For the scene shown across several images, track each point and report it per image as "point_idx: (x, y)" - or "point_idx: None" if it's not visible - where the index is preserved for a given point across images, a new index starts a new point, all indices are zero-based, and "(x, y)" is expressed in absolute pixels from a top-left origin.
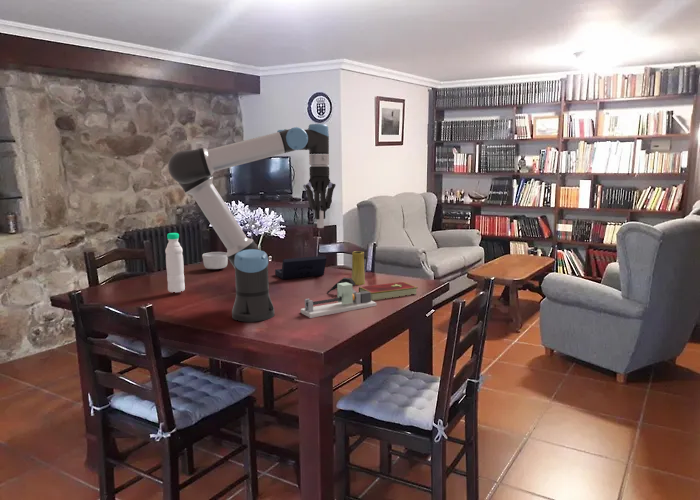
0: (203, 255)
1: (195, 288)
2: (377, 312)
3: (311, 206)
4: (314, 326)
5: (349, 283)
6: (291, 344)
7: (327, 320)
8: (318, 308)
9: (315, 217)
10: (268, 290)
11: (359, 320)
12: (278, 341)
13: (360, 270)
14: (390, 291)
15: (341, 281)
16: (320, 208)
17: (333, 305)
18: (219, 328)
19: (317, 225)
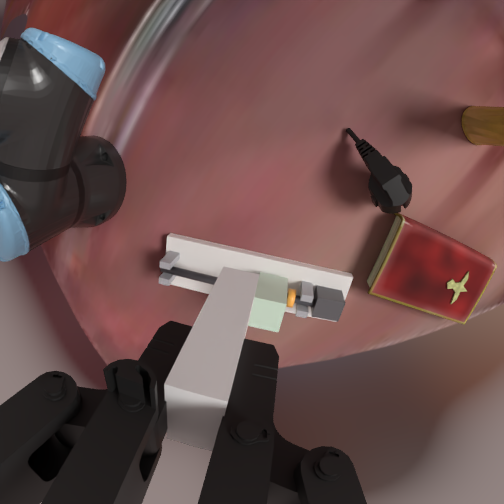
0: None
1: None
2: (301, 343)
3: (42, 413)
4: (150, 317)
5: (280, 320)
6: (95, 342)
7: (187, 311)
8: (201, 263)
9: (157, 339)
10: (76, 219)
11: None
12: (84, 322)
13: (494, 142)
14: (412, 306)
15: (377, 178)
16: (217, 434)
17: (245, 270)
18: None
19: (218, 281)
